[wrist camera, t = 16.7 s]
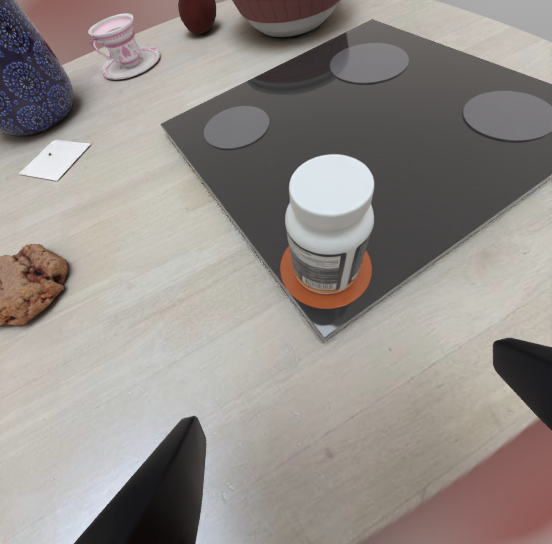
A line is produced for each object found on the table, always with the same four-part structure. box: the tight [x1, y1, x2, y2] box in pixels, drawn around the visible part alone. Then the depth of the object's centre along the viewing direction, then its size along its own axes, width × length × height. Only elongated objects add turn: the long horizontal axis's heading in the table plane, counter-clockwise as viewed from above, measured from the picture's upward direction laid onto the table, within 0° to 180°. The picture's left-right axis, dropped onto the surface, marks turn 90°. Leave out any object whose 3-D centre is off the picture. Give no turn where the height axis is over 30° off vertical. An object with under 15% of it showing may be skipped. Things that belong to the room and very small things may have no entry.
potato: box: [178, 0, 216, 34], centre depth 52 cm, size 7×8×7 cm
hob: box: [161, 19, 552, 342], centre depth 33 cm, size 38×40×2 cm
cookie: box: [0, 244, 68, 326], centre depth 27 cm, size 10×11×3 cm
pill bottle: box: [285, 154, 374, 294], centre depth 19 cm, size 6×6×10 cm
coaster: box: [19, 140, 90, 181], centre depth 39 cm, size 8×8×1 cm
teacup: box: [88, 14, 160, 80], centre depth 49 cm, size 12×12×6 cm
